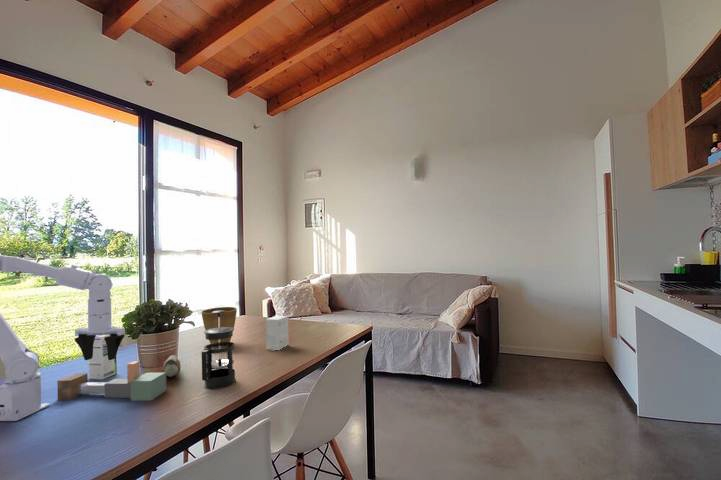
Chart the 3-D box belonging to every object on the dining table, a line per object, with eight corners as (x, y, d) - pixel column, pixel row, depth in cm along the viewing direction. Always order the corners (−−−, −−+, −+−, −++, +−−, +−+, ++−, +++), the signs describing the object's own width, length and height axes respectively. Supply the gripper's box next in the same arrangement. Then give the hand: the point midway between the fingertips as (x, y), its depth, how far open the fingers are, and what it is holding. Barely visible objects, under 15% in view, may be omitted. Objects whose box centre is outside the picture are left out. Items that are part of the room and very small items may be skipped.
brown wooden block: (57, 399, 105) (57, 380, 105) (75, 391, 111) (75, 373, 111) (70, 399, 104) (70, 380, 105) (87, 391, 110) (87, 373, 111)
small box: (276, 345, 159) (275, 315, 159) (289, 345, 156) (288, 315, 157) (265, 350, 151) (265, 318, 151) (278, 351, 149) (277, 319, 149)
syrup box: (102, 379, 120) (101, 336, 121) (87, 379, 122) (87, 336, 122) (117, 373, 126) (116, 332, 126) (103, 373, 127) (102, 332, 128)
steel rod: (75, 393, 106) (75, 385, 106) (82, 390, 109) (82, 382, 109) (117, 393, 105) (117, 385, 105) (123, 390, 108) (123, 382, 108)
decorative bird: (181, 368, 130) (180, 347, 130) (180, 383, 116) (179, 359, 116) (164, 371, 128) (164, 350, 128) (161, 386, 113) (160, 362, 114)
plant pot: (204, 343, 166) (203, 308, 166) (238, 339, 170) (237, 306, 171) (199, 351, 152) (199, 313, 152) (237, 347, 156) (236, 310, 156)
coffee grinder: (221, 376, 121) (220, 307, 121) (243, 379, 117) (242, 308, 117) (192, 388, 110) (191, 313, 110) (216, 392, 106) (214, 314, 107)
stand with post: (104, 397, 105) (104, 365, 105) (115, 392, 109) (114, 360, 109) (146, 397, 104) (146, 364, 104) (155, 392, 108) (155, 360, 108)
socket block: (130, 400, 102) (130, 381, 103) (147, 390, 109) (147, 372, 110) (150, 400, 102) (150, 380, 102) (166, 390, 109) (165, 372, 109)
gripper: (131, 311, 112) (132, 355, 112) (88, 312, 113) (88, 355, 113) (114, 315, 105) (115, 362, 105) (68, 316, 106) (68, 362, 106)
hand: (100, 359), depth 108 cm, fingers open, 7 cm apart
